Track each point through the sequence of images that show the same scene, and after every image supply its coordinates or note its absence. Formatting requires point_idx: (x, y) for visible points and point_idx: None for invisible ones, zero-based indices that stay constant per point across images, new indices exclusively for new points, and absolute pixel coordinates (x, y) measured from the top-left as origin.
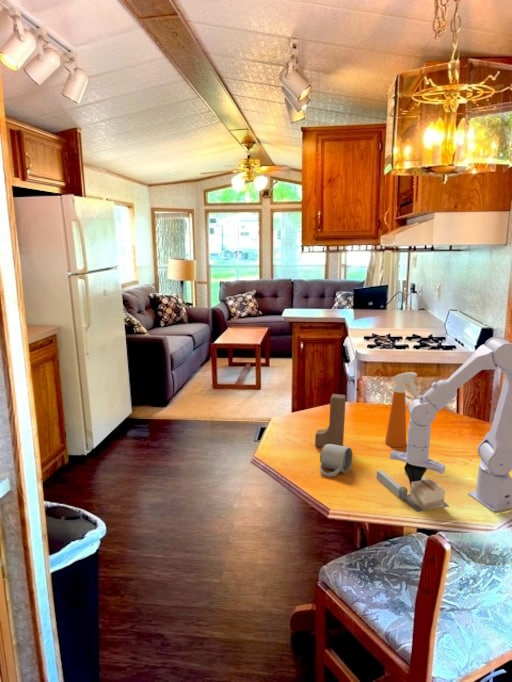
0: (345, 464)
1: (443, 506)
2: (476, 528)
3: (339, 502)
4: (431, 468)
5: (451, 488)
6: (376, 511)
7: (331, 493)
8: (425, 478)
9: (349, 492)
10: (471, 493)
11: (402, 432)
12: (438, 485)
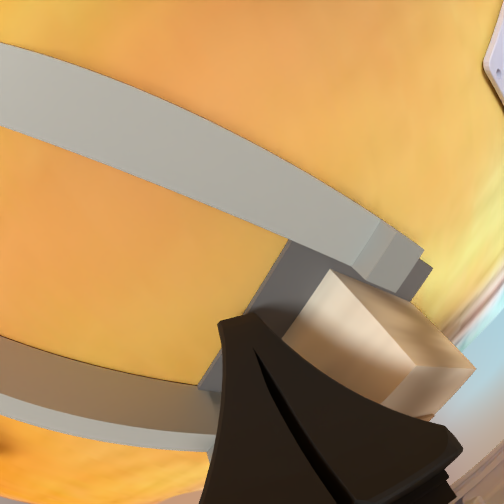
0: None
1: (410, 295)
2: (482, 305)
3: (96, 500)
4: (480, 478)
5: (406, 28)
6: (201, 478)
7: (39, 489)
8: (273, 167)
9: (49, 472)
10: (497, 68)
11: None
12: (455, 371)
